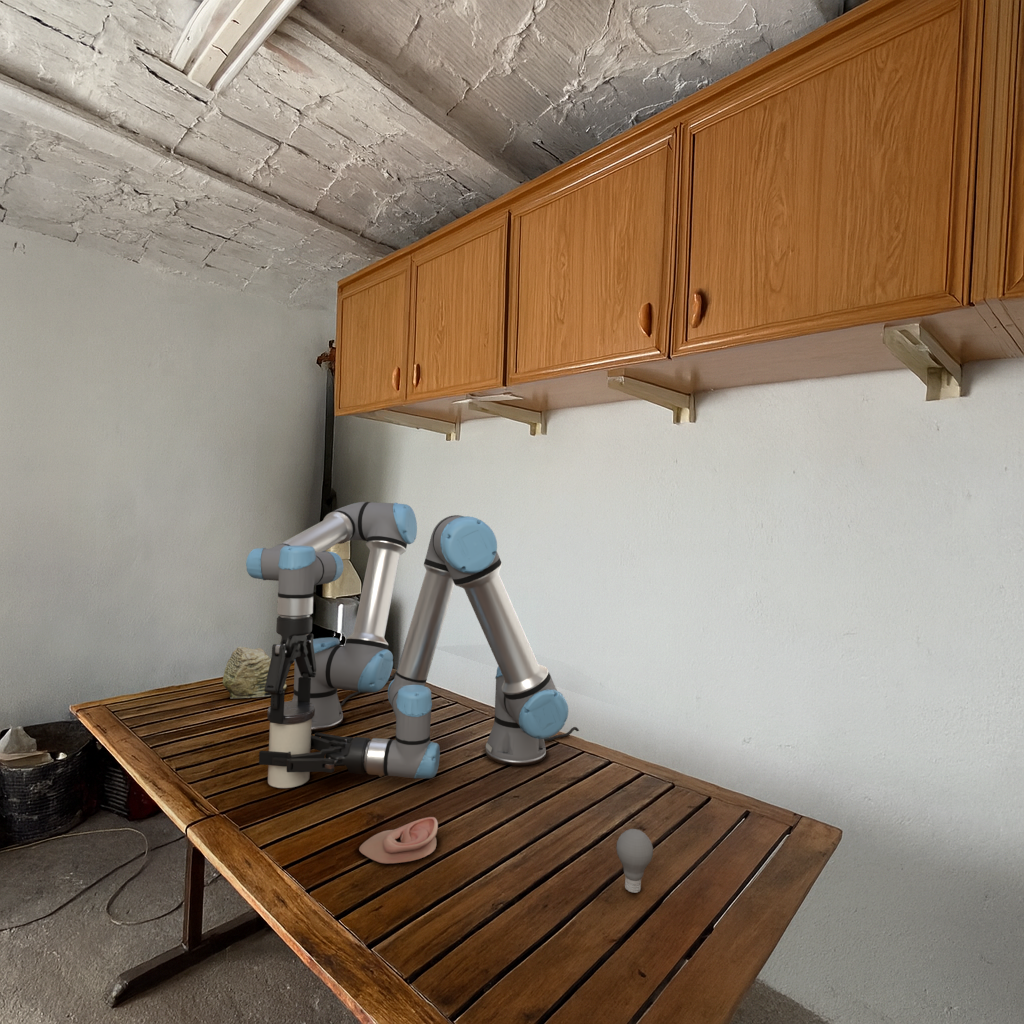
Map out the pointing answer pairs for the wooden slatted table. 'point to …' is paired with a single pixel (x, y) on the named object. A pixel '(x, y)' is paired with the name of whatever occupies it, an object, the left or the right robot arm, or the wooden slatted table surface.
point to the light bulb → (634, 857)
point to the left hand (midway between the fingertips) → (290, 714)
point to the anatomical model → (403, 842)
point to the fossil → (247, 673)
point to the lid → (296, 712)
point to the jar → (293, 741)
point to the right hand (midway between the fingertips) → (270, 748)
